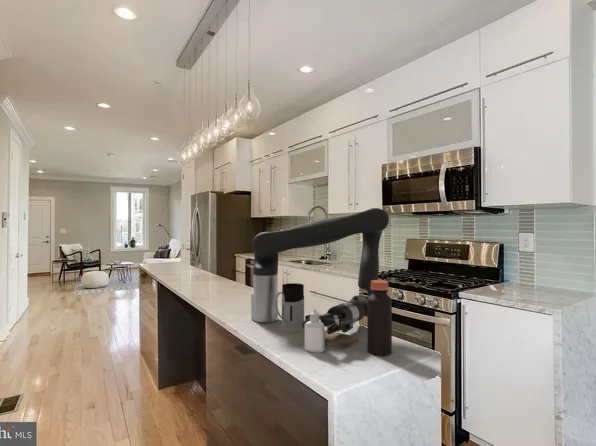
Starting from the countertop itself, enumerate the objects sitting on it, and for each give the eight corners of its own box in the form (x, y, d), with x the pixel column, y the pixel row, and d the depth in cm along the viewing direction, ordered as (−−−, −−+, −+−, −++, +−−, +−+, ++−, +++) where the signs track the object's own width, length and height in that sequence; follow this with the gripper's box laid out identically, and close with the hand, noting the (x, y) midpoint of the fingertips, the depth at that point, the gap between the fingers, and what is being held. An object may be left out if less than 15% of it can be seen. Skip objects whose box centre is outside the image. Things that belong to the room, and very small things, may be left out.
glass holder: (310, 327, 121) (310, 284, 121) (286, 338, 109) (286, 291, 109) (289, 323, 126) (289, 282, 126) (265, 333, 114) (265, 288, 114)
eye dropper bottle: (316, 355, 95) (316, 311, 95) (302, 349, 99) (302, 308, 99) (326, 351, 98) (326, 309, 98) (313, 346, 102) (313, 305, 102)
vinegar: (362, 352, 97) (362, 281, 97) (375, 345, 102) (375, 278, 102) (384, 358, 93) (384, 284, 93) (396, 351, 98) (396, 281, 98)
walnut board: (310, 340, 107) (310, 337, 107) (326, 333, 114) (326, 330, 114) (344, 348, 100) (344, 345, 100) (358, 340, 107) (358, 337, 107)
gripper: (324, 301, 116) (295, 311, 102) (363, 307, 107) (337, 318, 94) (324, 323, 115) (295, 336, 102) (363, 331, 107) (337, 346, 94)
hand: (315, 327), depth 98 cm, fingers open, 8 cm apart
